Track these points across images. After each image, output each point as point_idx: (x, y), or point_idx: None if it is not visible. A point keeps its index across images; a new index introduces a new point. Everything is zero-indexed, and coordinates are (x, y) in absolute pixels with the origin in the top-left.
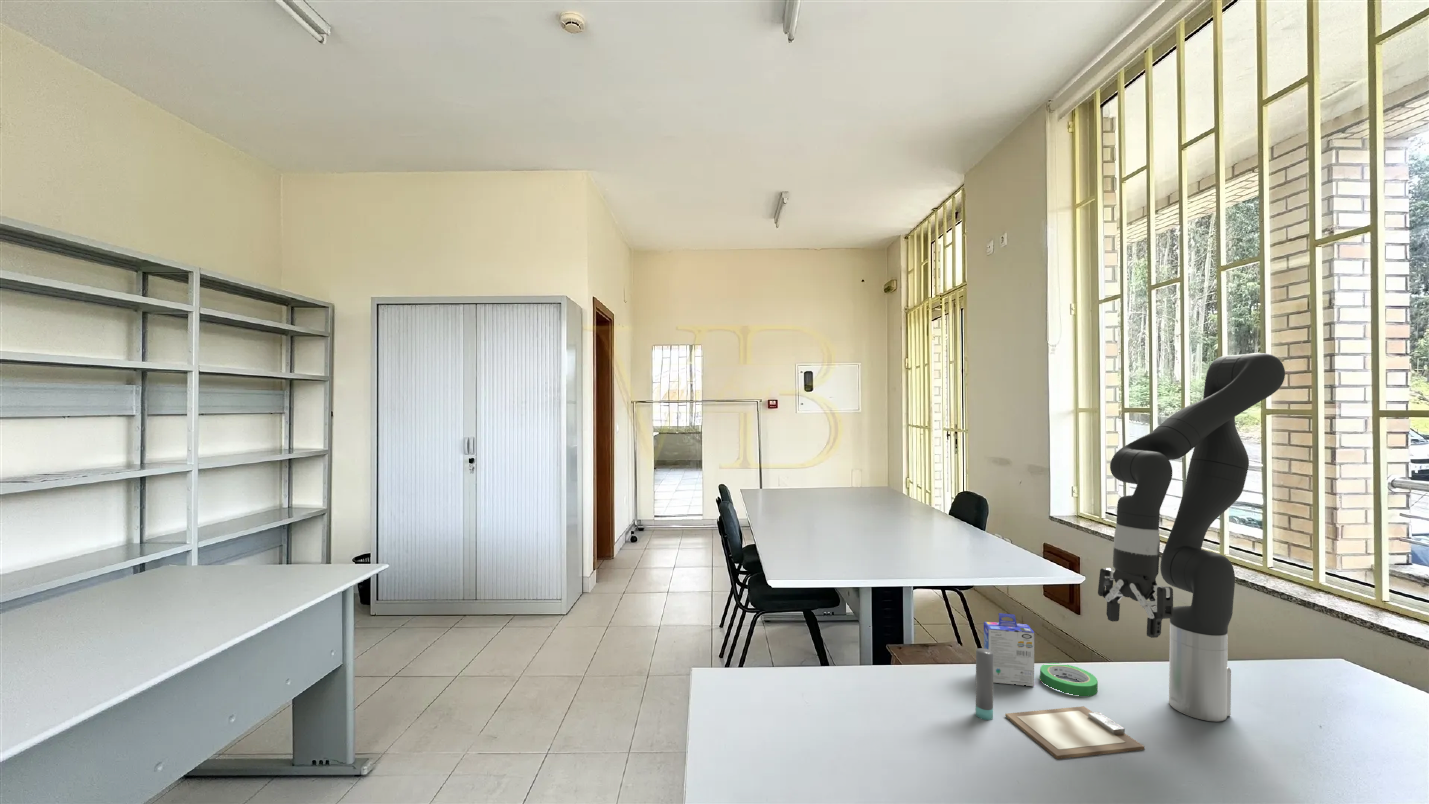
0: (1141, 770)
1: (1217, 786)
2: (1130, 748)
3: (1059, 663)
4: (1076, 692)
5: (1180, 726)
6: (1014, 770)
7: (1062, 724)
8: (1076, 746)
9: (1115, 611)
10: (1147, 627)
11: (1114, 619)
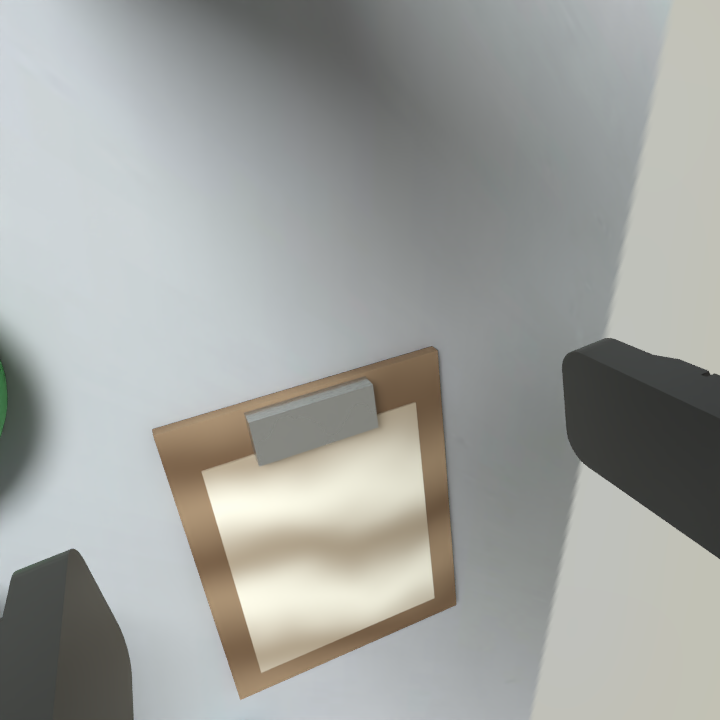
0: (516, 413)
1: (603, 244)
2: (440, 400)
3: None
4: (4, 419)
5: (279, 57)
6: (477, 684)
7: (309, 557)
8: (425, 551)
9: (93, 714)
10: (654, 506)
11: (105, 619)
